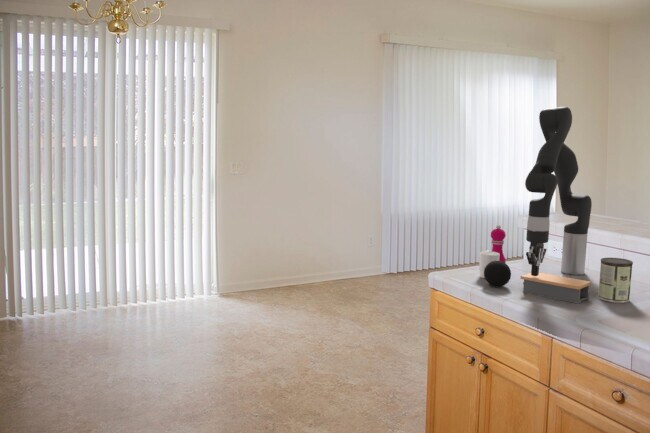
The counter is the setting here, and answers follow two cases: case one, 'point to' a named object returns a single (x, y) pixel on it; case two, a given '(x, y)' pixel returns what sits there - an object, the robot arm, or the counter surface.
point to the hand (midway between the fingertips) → (534, 275)
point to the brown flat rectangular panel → (557, 280)
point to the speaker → (497, 273)
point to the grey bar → (582, 293)
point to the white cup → (486, 260)
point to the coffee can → (615, 280)
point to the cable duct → (554, 291)
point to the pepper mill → (498, 241)
